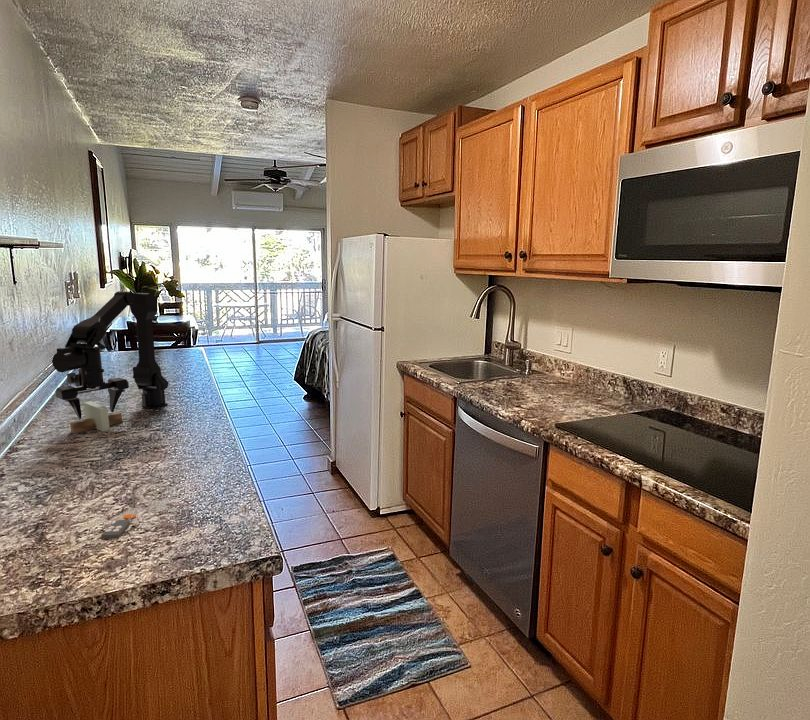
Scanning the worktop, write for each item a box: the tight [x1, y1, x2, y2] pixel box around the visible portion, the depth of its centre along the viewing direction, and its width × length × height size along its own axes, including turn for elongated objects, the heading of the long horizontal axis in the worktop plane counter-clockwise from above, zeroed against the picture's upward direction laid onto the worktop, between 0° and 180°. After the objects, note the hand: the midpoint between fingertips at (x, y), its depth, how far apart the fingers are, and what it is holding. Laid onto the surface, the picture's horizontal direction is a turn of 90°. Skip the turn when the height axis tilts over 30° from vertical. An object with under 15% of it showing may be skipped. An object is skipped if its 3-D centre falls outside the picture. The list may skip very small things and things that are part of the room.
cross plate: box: [83, 401, 110, 433], centre depth 160 cm, size 12×2×7 cm, turn 52°
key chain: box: [100, 511, 140, 540], centre depth 103 cm, size 13×4×2 cm, turn 4°
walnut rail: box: [69, 411, 123, 434], centre depth 160 cm, size 14×2×3 cm, turn 142°
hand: (96, 415), depth 160 cm, fingers open, 9 cm apart
